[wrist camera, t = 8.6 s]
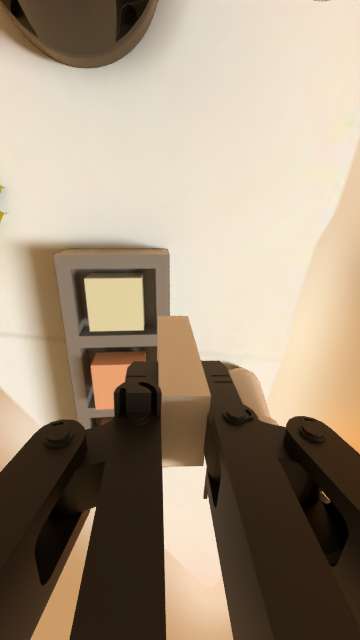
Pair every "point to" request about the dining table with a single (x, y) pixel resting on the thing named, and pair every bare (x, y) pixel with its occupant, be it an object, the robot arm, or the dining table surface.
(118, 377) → the terracotta key
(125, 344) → the key panel
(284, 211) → the dining table surface
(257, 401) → the salt shaker
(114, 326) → the cream square block
